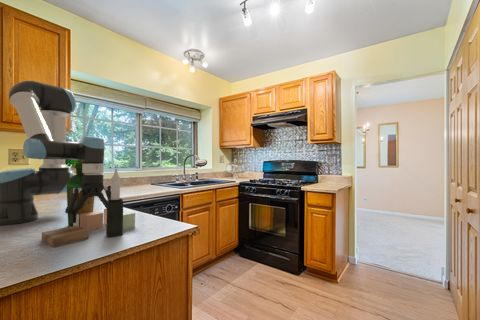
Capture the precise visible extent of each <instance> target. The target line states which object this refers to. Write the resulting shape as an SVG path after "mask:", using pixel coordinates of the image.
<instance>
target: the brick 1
mask: <svg viewBox="0 0 480 320" xmlns="http://www.w3.org/2000/svg"><path fill="white" fill-rule="evenodd" d="M103 223H104V212H100V211H97V210H96V211H94V210H93V212H88V213H82V214H80V227H81V228H84V229H87V230H89V231H93V230H97V228H98V229H102V228H103V227H104V224H103Z"/></svg>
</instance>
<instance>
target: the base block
mask: <svg viewBox="0 0 480 320" xmlns="http://www.w3.org/2000/svg"><path fill="white" fill-rule="evenodd" d="M89 232H90V230H87V229H84V228H81V227H78V226H67V227H62V228H57V229H52V230H47V231H42V232H41V242H42V241H43V242H42V243H44V244H46V245H48V246H50V247H52V248H57V247H62V246H64V245H68V244H72V243H73V244H74V243H76V242H80V241H84V240H89Z"/></svg>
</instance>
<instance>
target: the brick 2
mask: <svg viewBox="0 0 480 320" xmlns="http://www.w3.org/2000/svg"><path fill="white" fill-rule="evenodd" d="M135 227H136V212H133V211H130V210H129V211H128V210H126V211H125V210H123V230H129V229H131V228H135Z"/></svg>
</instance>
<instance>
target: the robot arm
mask: <svg viewBox="0 0 480 320" xmlns="http://www.w3.org/2000/svg"><path fill="white" fill-rule="evenodd" d="M8 100H9V102H10V104H11V106H12V107H14V108H15V109H16V112H17V115H18V117H19V120H20V122H21V124H22V125H21V126H22V127H23V130H24V133H25V134H26V135H25V136H26V138H27V139H25V141H24V142H23V146H22V147H23V148H22V150H23V154H24V155H23V156H25V158H27V159H31V160H32V159H35V160H43V162H42V164H41V165H40V166H39V167H38V170H35V168H32V167H30V168H28V167H27V168H17V169H9V170H3V171H1V172H0V226H7V225H14V224H15V225H18V224H22V223H28V222H31V221H32V222H33V221H35V220H37V219H38V218H39V213H38V212H39V211H38V210H37V207H36V205H35V202H34V198H35V197H34V196H43V195H58V194H64V193H67V185H66V182H67V180H68V179H69V178H70V177H72V176H73V175H74V172H73V171H72V170H70V168H69V165H67V164H66V160H75V161H78V160H82V163H85V164H82V173H84V175H83V176H82V186H81V188H73V189H72V196H71V198H70V201H69V203H68V206H67V205H66V208H65V210H64V213H65V214H67V215H68V214H71V223H73V226H78V227H79V214H77V212H78V211H79V209H80V208H81V206H82V205H83V204H84V202H85V201H86V199H87V198H88V197H93V196H94V197H98V198H99V201H100V202H101V204H102V205H103V206H104V207H105V208H103V225H106V226H107V201H108V199H111V185H107V184H106V185H104V172H105V171H104V168H105V167H104V165H105V164H104V162H105V140H104V138H102V137H99V136H84V137H83V138H82V141H81V142H80V141H79V142H78V141H67V118H68V117H69V116H71V113H73V112H74V111H75V108H76V105H77V104H76V97H75V95H74V93H73V92H72V91H71V90H69V89H67V88H63V87H60V86H56V85H53V84H52V85H50V84H48V83H47V84H46V83H43V82H39V81H36V80H22V81H21V82H20V81H19V82H17V83H16V84H14V85H13V86H12V87H11V88H10V89H9V91H8ZM103 190H104V193H105V195H106V196H105V195H104V193H103ZM80 191H82V192H83V194H82V195H81V198H80V199H79V201H78V202H77V204H76V205H75V202H76V200H77V197H78V194H79V193H80ZM74 205H75V206H74ZM73 207H74V208H73Z"/></svg>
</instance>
